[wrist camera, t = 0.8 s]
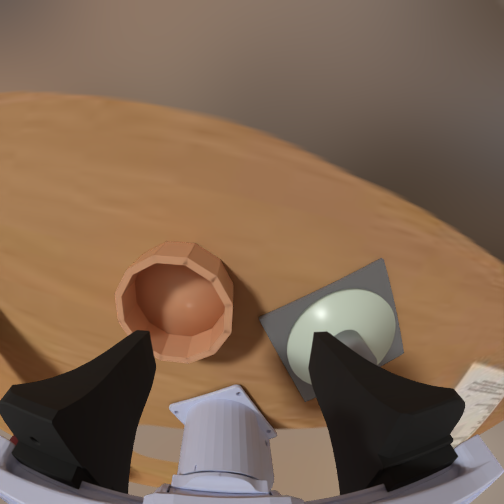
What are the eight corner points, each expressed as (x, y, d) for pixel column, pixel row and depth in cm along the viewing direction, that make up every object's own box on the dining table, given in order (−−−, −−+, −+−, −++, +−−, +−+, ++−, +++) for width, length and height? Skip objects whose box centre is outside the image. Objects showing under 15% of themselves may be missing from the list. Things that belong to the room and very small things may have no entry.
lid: (399, 352, 24) (418, 376, 20) (308, 396, 24) (317, 427, 20) (379, 267, 21) (406, 286, 17) (267, 322, 22) (273, 352, 18)
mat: (402, 351, 24) (403, 353, 24) (304, 399, 25) (305, 401, 24) (381, 257, 21) (383, 259, 21) (258, 317, 22) (259, 319, 21)
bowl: (250, 314, 22) (252, 339, 18) (166, 348, 22) (157, 374, 19) (201, 223, 20) (194, 233, 16) (114, 269, 20) (95, 286, 17)
